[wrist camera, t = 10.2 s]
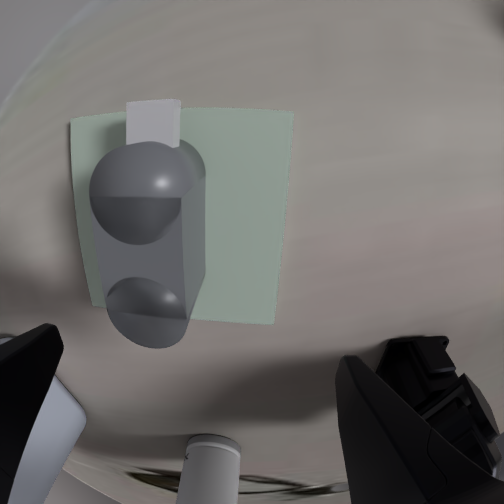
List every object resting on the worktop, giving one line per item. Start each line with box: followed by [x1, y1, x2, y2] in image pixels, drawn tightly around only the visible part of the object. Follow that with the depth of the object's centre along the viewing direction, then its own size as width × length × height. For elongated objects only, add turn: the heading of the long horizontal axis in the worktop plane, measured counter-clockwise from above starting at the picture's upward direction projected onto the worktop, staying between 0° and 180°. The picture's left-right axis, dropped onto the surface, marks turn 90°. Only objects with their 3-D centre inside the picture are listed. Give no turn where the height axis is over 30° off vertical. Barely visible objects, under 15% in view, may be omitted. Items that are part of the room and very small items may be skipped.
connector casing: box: [89, 99, 206, 348], centre depth 15 cm, size 12×4×6 cm, turn 177°
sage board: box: [71, 108, 294, 325], centre depth 18 cm, size 14×14×1 cm
